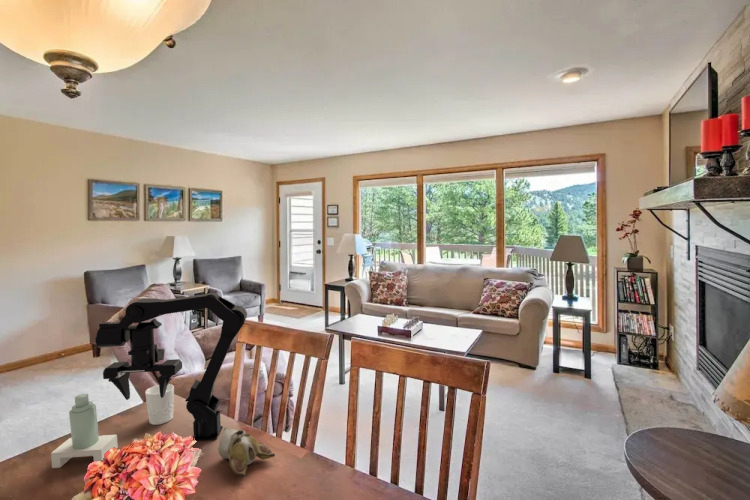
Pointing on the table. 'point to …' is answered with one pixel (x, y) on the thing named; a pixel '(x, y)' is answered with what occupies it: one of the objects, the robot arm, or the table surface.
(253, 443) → the ceramic sculpture
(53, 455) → the shelf
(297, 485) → the table surface
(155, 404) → the white cup
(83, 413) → the sage spray can
